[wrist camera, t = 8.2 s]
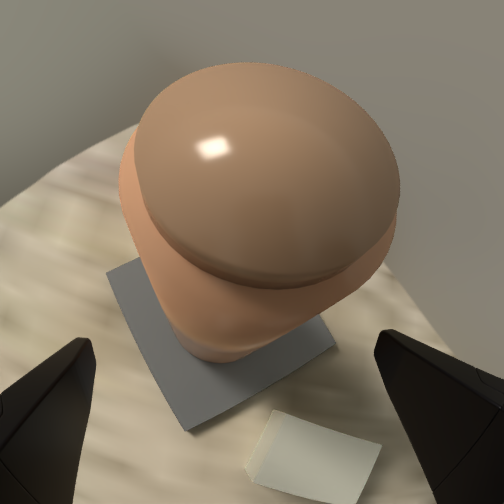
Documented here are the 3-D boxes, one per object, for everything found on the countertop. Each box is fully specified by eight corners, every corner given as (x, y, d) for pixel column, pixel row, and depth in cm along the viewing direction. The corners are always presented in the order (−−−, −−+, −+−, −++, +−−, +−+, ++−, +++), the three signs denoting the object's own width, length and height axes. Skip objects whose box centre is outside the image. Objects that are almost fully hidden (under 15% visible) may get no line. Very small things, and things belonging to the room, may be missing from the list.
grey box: (358, 438, 17) (382, 444, 14) (332, 493, 15) (353, 507, 12) (272, 408, 17) (286, 413, 14) (244, 467, 15) (252, 482, 13)
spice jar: (277, 354, 17) (456, 271, 5) (176, 369, 16) (108, 326, 4) (259, 261, 19) (355, 64, 7) (164, 272, 18) (124, 59, 6)
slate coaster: (332, 344, 19) (336, 343, 18) (185, 429, 16) (184, 431, 15) (250, 211, 21) (251, 207, 21) (108, 276, 18) (105, 273, 18)
